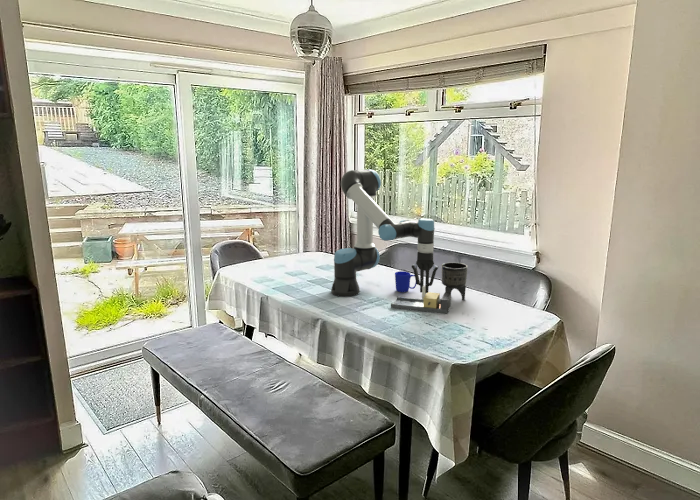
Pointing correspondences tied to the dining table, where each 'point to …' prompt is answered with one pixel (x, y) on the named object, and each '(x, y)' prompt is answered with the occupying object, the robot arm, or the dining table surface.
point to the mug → (403, 281)
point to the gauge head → (432, 300)
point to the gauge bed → (415, 305)
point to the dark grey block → (446, 301)
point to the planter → (454, 277)
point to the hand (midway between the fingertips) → (424, 298)
